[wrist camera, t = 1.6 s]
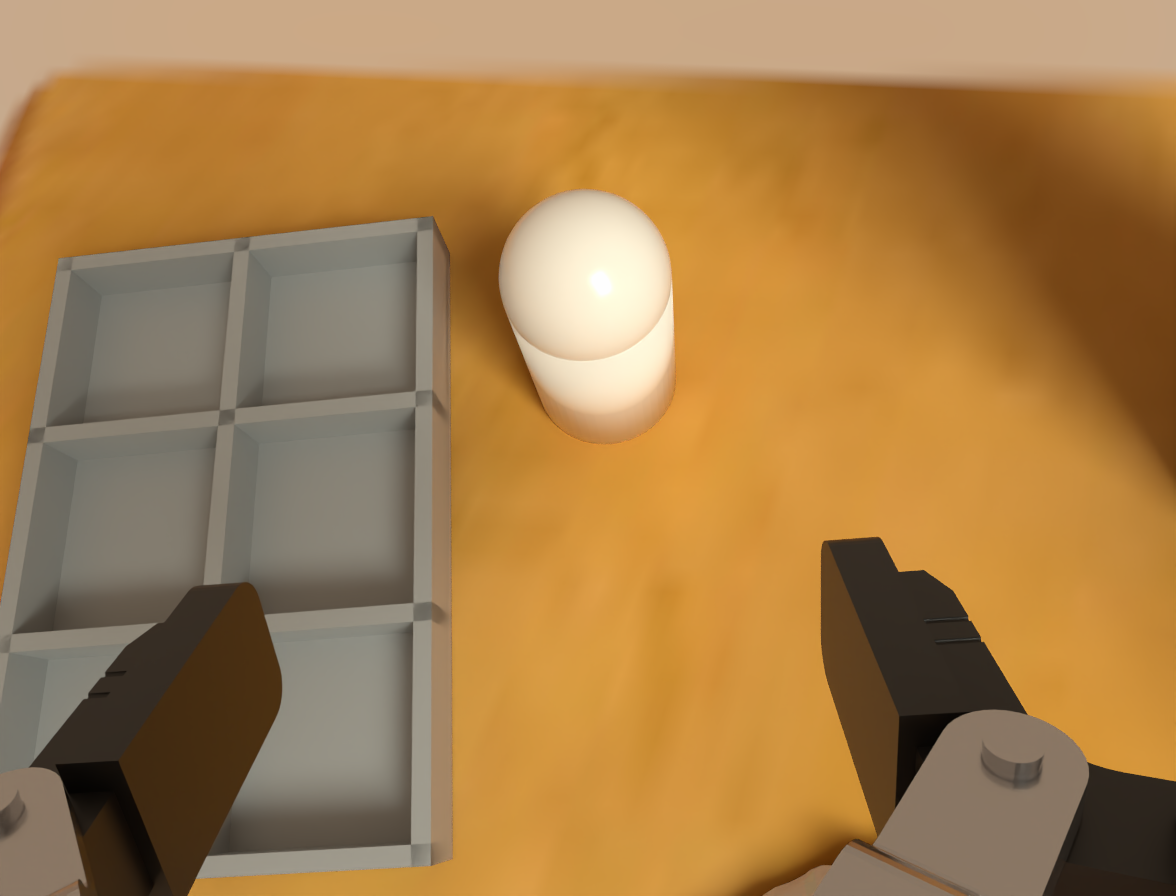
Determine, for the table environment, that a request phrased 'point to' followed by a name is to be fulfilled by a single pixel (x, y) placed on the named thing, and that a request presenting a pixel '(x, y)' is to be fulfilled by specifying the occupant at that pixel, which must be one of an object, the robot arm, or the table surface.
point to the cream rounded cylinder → (592, 313)
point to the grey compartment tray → (255, 518)
